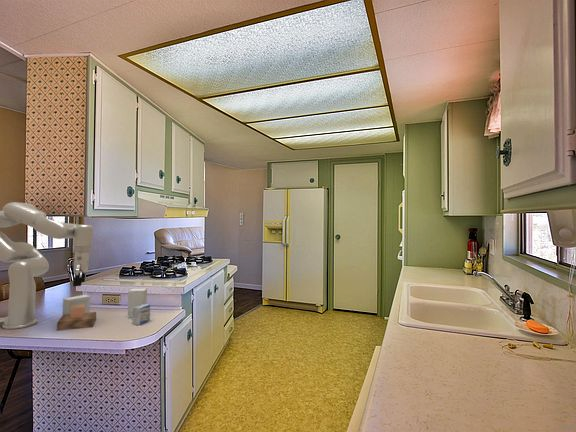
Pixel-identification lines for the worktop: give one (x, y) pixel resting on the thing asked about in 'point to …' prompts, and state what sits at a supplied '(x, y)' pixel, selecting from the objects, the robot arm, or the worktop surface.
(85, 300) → the skincare box
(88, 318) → the walnut stand
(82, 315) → the terracotta cube
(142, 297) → the skincare box
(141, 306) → the medicine box
